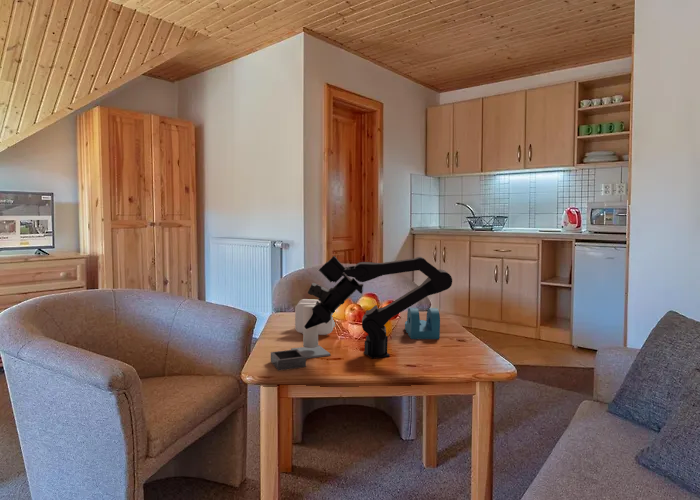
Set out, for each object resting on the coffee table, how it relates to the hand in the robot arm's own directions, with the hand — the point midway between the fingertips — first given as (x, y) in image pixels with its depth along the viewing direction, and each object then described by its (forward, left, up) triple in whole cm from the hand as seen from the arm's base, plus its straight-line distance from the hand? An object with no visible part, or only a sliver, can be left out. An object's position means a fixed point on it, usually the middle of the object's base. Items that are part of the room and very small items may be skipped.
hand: (306, 325), depth 150 cm
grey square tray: (+9, +9, -9) cm, 15 cm away
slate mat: (-1, +1, -9) cm, 9 cm away
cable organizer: (-12, -24, -9) cm, 29 cm away
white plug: (-1, +1, -7) cm, 7 cm away
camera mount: (-49, -8, -9) cm, 50 cm away
